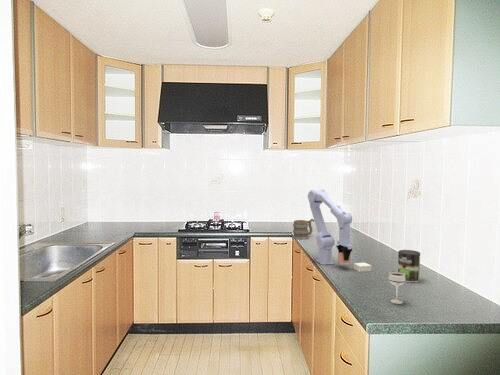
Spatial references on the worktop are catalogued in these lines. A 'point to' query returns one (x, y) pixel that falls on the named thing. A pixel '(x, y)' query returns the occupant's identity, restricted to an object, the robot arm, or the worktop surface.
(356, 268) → the cream plinth
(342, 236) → the robot arm
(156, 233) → the worktop surface
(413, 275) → the coffee can
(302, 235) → the tankard
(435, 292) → the worktop surface
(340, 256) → the terracotta cube
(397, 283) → the wineglass
